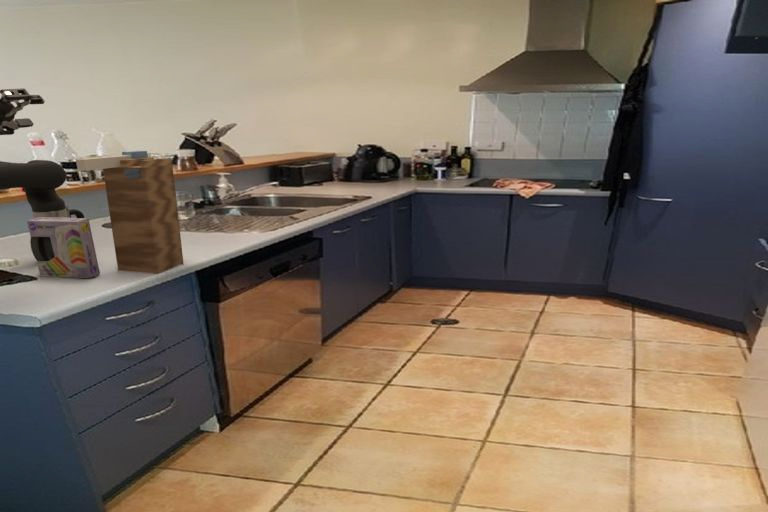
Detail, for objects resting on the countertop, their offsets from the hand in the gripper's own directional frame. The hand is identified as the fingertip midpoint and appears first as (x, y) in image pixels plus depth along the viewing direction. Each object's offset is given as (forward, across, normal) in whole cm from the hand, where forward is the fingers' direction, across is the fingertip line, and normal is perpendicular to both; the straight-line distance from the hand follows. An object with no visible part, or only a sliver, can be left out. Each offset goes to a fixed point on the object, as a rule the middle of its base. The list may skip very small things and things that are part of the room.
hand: (36, 111), depth 133 cm
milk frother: (+29, +68, +6) cm, 74 cm away
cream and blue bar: (+16, +7, +16) cm, 24 cm away
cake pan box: (+3, +37, +31) cm, 49 cm away
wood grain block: (+20, +26, +42) cm, 53 cm away
